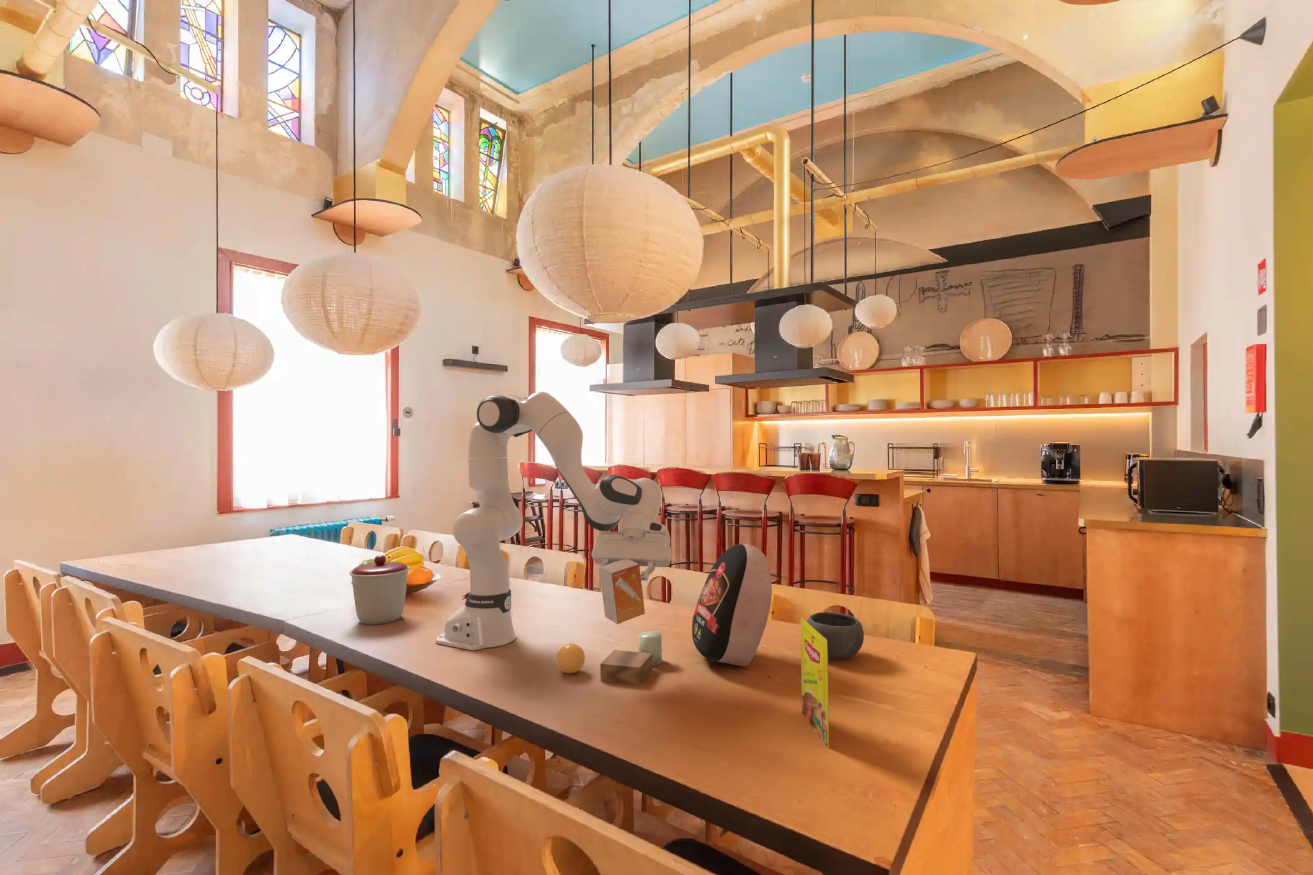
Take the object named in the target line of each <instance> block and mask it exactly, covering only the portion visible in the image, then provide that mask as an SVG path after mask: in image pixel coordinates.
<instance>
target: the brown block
mask: <svg viewBox="0 0 1313 875" xmlns="http://www.w3.org/2000/svg"><path fill="white" fill-rule="evenodd" d="M599 667H600V671H599V673H600V681H603V682H613V683H621V684H629V685H630V684H632V685H639V686H640V685H642V683H643V682H644V681H645V679H646V678H647V676H649V674H650V673H651V672H652V671H653V666H652V653H643V652H639V651H629V650H621V649H620V650H618V649H614V650H612V652H611V653H610V654H609V655H608V656H607V657H605V659H603V661H601V663H600V664H599Z"/></svg>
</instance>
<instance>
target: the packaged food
mask: <svg viewBox="0 0 1313 875" xmlns="http://www.w3.org/2000/svg"><path fill="white" fill-rule="evenodd" d="M772 587H773V586H772V577H771V572H770V566H769V563H768V559H767V557H766V555H765V553H763V552H762V550H760V549H759V547H756V546H755V545H752V544H746V543H737V544H735V545H733V546H730V547H729V548H728V549H726V550H725V551H724V552H723V553H722V554H721V555H720V556H719V557H718V558H717V560H716V561H715V562H714V564H713V566H712V568H711V569H710V570H709V572H708V575H707V577H706V579H705V581H704V584H703V587H702V590H701V591H700V595H699V597H698V600H697V603H696V605H695V609H694V612H693V615H692V616H693V617H692V622H691V623H692V624H691V625H692V626H691V635H692V642H693V644H694V647H695V649H696V650H697V651H698V652H699V654H700V655H701V656H702V657H704V658H706V660H709V661H712V662H717V663H718V662H719V663H724V664H730V665H733V666H738V667H746V666H748V665H750V663H751V662H752V661H753V659H754V657H755V655H756V653H757V651H758V647H759V646H760V643H761V640H762V638H763V635H764V631H765V630H766V627H767V626H766V625H767V623H768V619H769V614H770V609H771V603H772V595H773V594H772V593H773V592H772V590H773V589H772Z"/></svg>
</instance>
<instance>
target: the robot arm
mask: <svg viewBox="0 0 1313 875" xmlns="http://www.w3.org/2000/svg"><path fill="white" fill-rule="evenodd" d="M476 419H477V422H475V423H474V424H473V425H472V426H471V428H470V432H469V439H468V448H467V449H468V450H467V458H468V459H467V462H468V469H467V470H468V471H467V472H468V485H469V487H470V489H471V490H472V491H473V492H474V493H475V494H476V497H477V500H478V503H479V506H478V507H473V508H471V509H468V510H466V511H464V512H462V513H461V514H459V515H458V516H457V517H456V518H455V519H454V521H453V526H452V534H453V537H454V539H455V541H456V542H457V543H458V544H459V545H460V546H461V547H462V548H463V550H464V553H465V555H466V558H467V562H468V565H469V581H470V582H469V585H470V586H469V587H470V588H469V589H470V591H468V592H467V593H465V594H464V595H461V597H462V598H461V600H462V601H464V600H465V603H464V605H462V606H461V607H460V608H459V609H458V610H457V611H455V612H454V613H453V614H452V615H450V616H449V617H448V618H447V620H446V622H445V626H444V632H443V633H442V634H439V636H437V637H436V639H435V640H436V641H435V644H438V645H443V646H449V647H454V648H458V649H463V650H464V649H465V650H467V651H468V650H469V651H477V650H481V649H485V648H494V647H495V648H496V647H499V646H500V647H501V646H504V645H507V644H509V643H511V642H513V641H515V639H516V638H517V636H516V633H515V629H514V625H513V620H512V619H513V618H512V613H511V612H512V611H511V608H512V590H511V588H510V585H511V583H510V582H511V581H510V562H509V561H508V560H507V559H506V558H505V557H504V555H503V553H502V549H501V546H500V542H501V541H505V540H508V539H510V538H512V537H513V536H515V535H516V534H517V533H519V532H520V531H521V529H522V527H523V523H524V522H523V521H524V516H523V514H522V512H521V510H520V509H519V508H518V507H517V506H516V504H515V501H514V499H513V496H512V493H511V489H510V484H509V483H510V482H509V471H508V470H509V469H508V467H509V466H508V464H509V463H508V442H509V440H510V439H511V438H512V436H513V437H515V438H517V437H519V436H520V437H521V436H522V435H525V434H528V433H531V432H532V431H533V432H534V433H535V435H536V436H537V437H538V439H539V440H540V441H541V443H542V444H543V446H544V447H545V448H546V450H547V451H548V453H549V455H550V456H551V459H552V461H553V463H554V465H555V467H556V470H557V472H558V473H559V475H560V476H561V478H562V479H563V482H564V483H565V485H566V486H567V488H568V489H569V490H570V492H571V493H572V495H573V496H574V497H575V499H576V501H577V503H578V504H579V506H580V508H581V510H582V513H583V517H584V519H585V522H586V523H587V524H588V525H589V526H590V528H591V527H592V528H593V529H594V530H597V531H600V532H601V531H602V532H601V533H599V534H598V536H597V537H596V542H595V544H594V545H593V548H592V551H591V558H592V560H593V562H594V563H595V564H596V565H602V566H605V565H608V564H610V563H613V562H617V561H620V560H623V559H629V560H632V561H634V562H636V563H638V564H639V566H640V567H647V568H646V569H645V570H642V571H640V575H641V582H642V581H644V582H648V581H649V577H650V575H651V574H652V573H653V572H654V571H655V570H656V568H668V567H669V565H671V560H672V548H671V536H670V532H669V529H668V528H667V526H666V524H665V525H664V524H662V523H659V522H656V521H657V518H658V517H659V514H660V509H661V504H662V491H661V488H660V486H659V484H658V483H657V482H656V481H654V480H653V479H651V478H648V477H641V478H637V479H636V478H635V479H631V478H627V477H626V476H625V477H624V476H622V475H619V474H608V475H606V476H604V477H603V478H602V479H601V481H600V482H599V484H598V485H597V488H596V487H595V485H594V483H593V482H592V481H591V479H590V477H589V475H587V473H586V472H585V469H584V467H583V463H582V449H583V448H582V447H583V441H584V436H583V435H584V434H583V430H582V429H581V425H580V424H579V423H578V421H577V420H576V419H575V416H573V415H572V414H571V413H570V411H569V410H568V409H567V408H566V407H565V406H564V405H563V404H562V403H561V402H560V401H559V400H557V398H555V397H554V396H552V395H551V394H550V393H548V392H546V391H538V392H534V393H532V394H530V395H529V396H528V397H525V396H524V397H522V396H518V395H515V394H514V395H512V394H509V395H502V394H495V395H494V394H493V395H490V396H487V397H485V398H483V399H481V401H480V402H479V404H478V406H477V410H476ZM621 518H622V522H621V526H620V530H619V531H612V530H614V529H615V528H616V527H617V526H618V524H619V522H620V521H621Z"/></svg>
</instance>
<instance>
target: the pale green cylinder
mask: <svg viewBox="0 0 1313 875" xmlns="http://www.w3.org/2000/svg"><path fill="white" fill-rule="evenodd" d="M662 636H663V635H662V633H661V632H658V631H652V630H649V631H641V632H640V633H638V652H643V653H652V667H654V666H659V665H661V664H662V663H663V662H662V661H663V650H662V649H663V647H662V644H663V640H662V638H663V637H662Z"/></svg>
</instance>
